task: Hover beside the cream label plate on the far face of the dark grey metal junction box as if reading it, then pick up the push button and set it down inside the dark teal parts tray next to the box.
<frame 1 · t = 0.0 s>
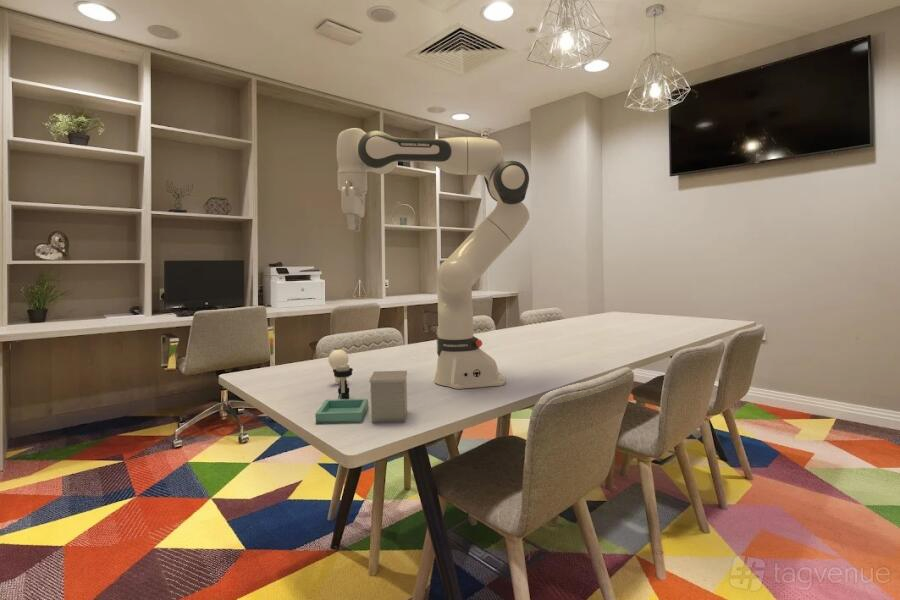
hand: (354, 230, 144), 48 cm above the table, tool pointing down, fingers open, 8 cm apart
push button: (343, 403, 129), on the table
lightbulb: (339, 384, 148), on the table
parts tray: (343, 415, 118), on the table
junction box: (390, 416, 117), on the table
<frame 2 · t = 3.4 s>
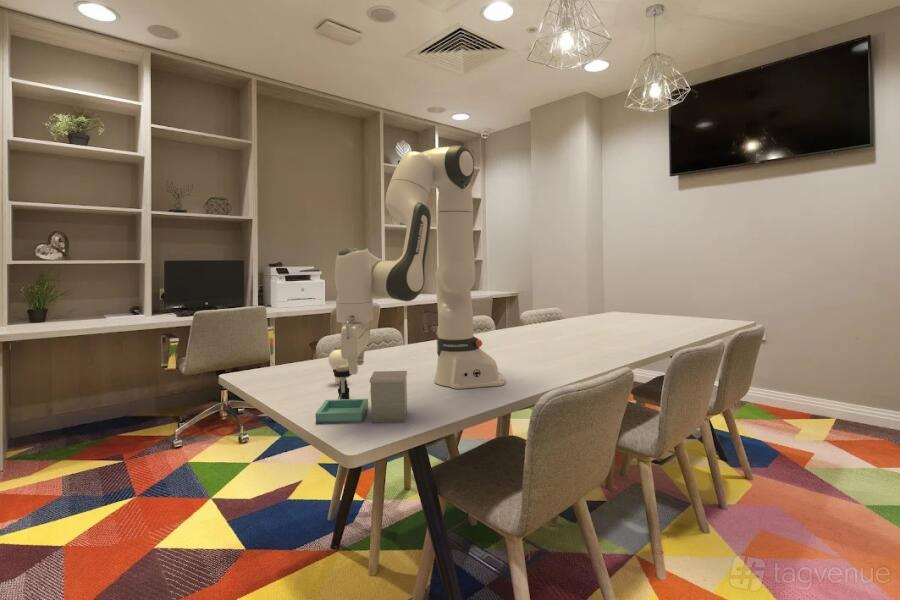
hand: (356, 369, 116), 12 cm above the table, tool pointing down, fingers open, 8 cm apart
nothing on the table moved.
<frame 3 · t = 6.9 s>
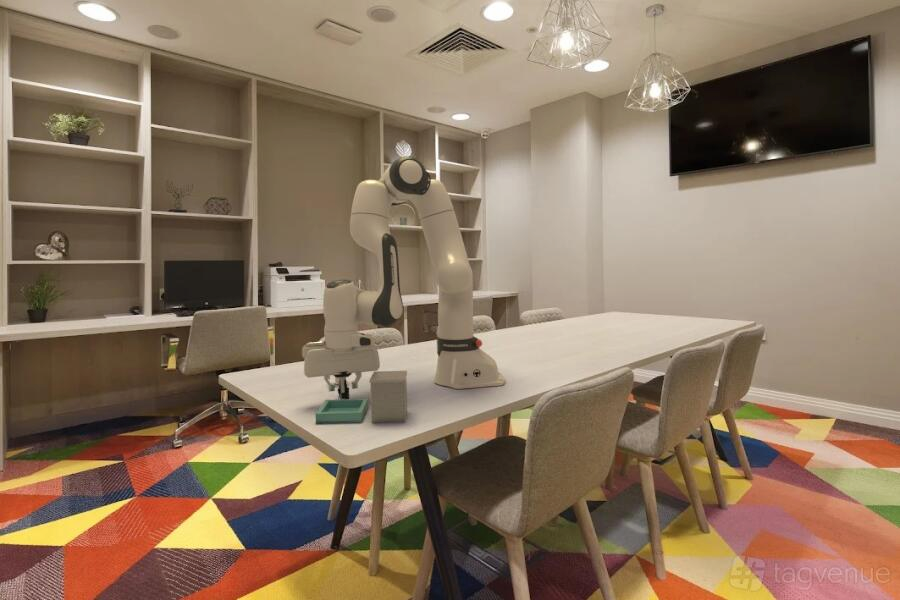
hand: (343, 389, 129), 4 cm above the table, tool pointing down, fingers closed on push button, 5 cm apart
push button: (343, 402, 129), on the table, touching gripper
everything else where it was.
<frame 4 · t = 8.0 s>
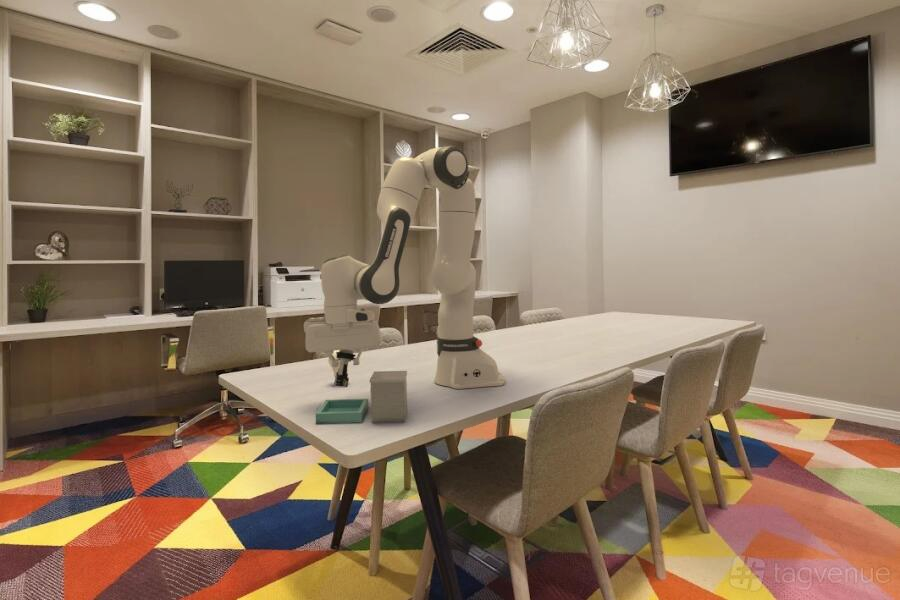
hand: (346, 365, 128), 10 cm above the table, tool pointing down, fingers closed on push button, 4 cm apart
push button: (338, 386, 127), point 5 cm above the table, touching gripper
everything else where it was.
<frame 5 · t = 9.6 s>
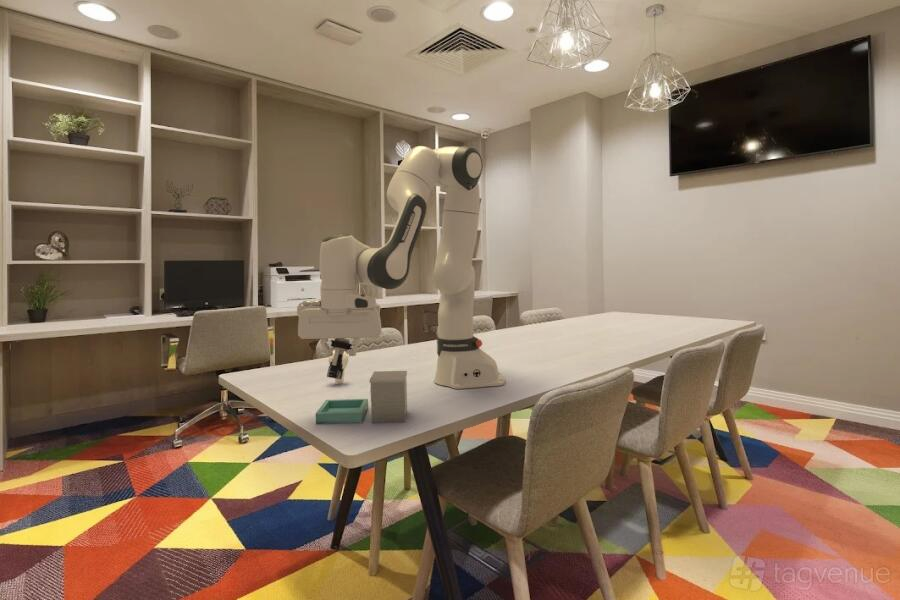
hand: (341, 355, 117), 15 cm above the table, tool pointing down, fingers closed on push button, 4 cm apart
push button: (332, 378, 116), point 10 cm above the table, touching gripper
everything else where it was.
when the fingers open (7 cm above the table, at t = 10.8 s): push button stays where it is, resting on parts tray.
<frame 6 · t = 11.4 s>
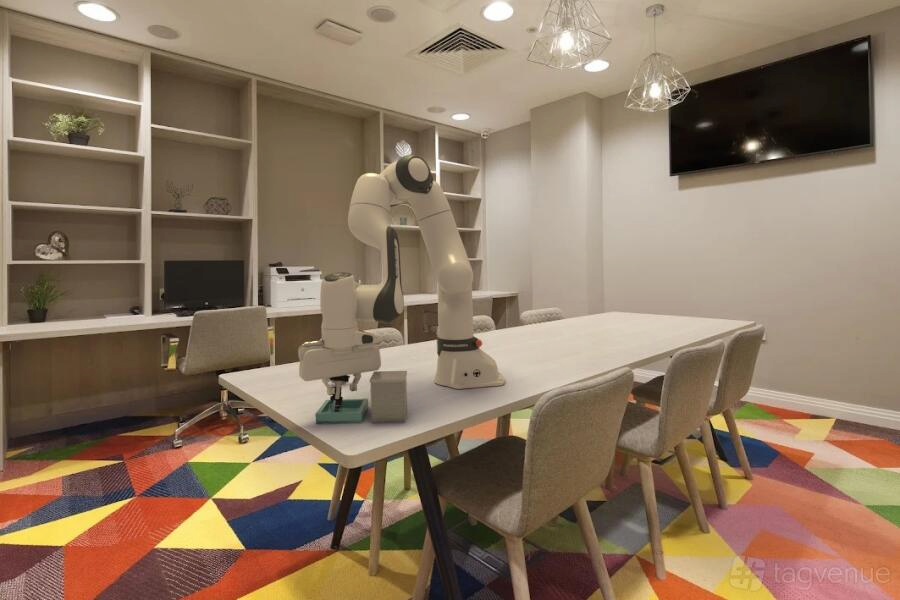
hand: (342, 392, 118), 6 cm above the table, tool pointing down, fingers open, 4 cm apart
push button: (335, 412, 116), point 2 cm above the table, touching gripper, parts tray
everything else where it was.
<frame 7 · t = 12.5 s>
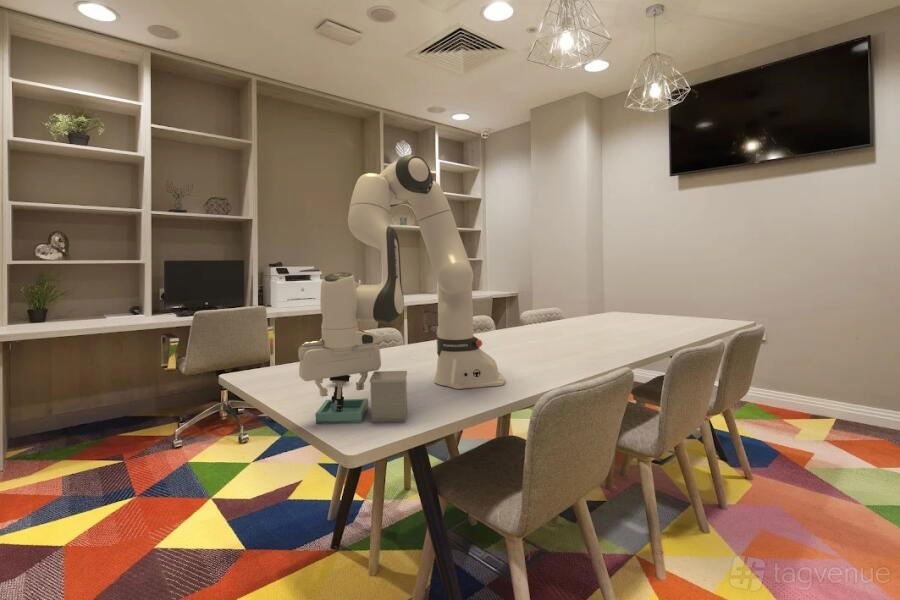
hand: (342, 392, 118), 6 cm above the table, tool pointing down, fingers open, 8 cm apart
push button: (336, 412, 116), point 1 cm above the table, touching parts tray
everything else where it was.
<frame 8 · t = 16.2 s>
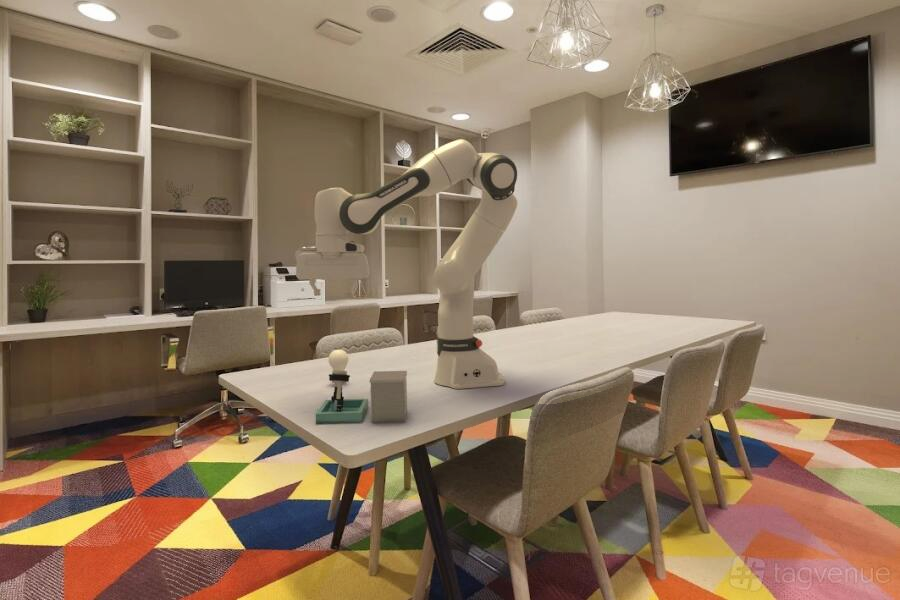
hand: (334, 295, 133), 29 cm above the table, tool pointing down, fingers open, 8 cm apart
nothing on the table moved.
at the end: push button inside the target area on the parts tray (2.1 cm from its centre), point 1.4 cm above the parts tray's base; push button tilted 19°; the gripper is holding nothing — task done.
